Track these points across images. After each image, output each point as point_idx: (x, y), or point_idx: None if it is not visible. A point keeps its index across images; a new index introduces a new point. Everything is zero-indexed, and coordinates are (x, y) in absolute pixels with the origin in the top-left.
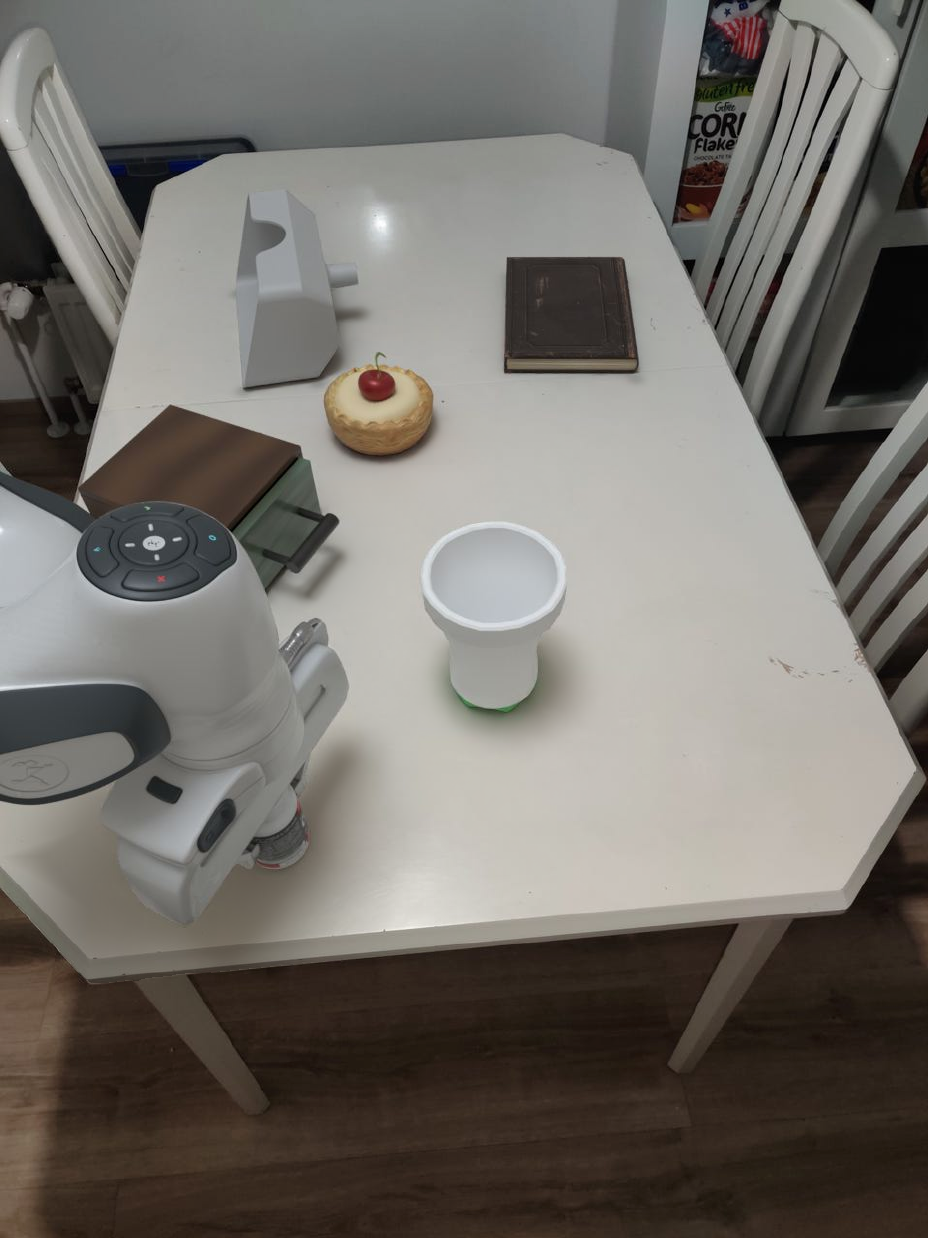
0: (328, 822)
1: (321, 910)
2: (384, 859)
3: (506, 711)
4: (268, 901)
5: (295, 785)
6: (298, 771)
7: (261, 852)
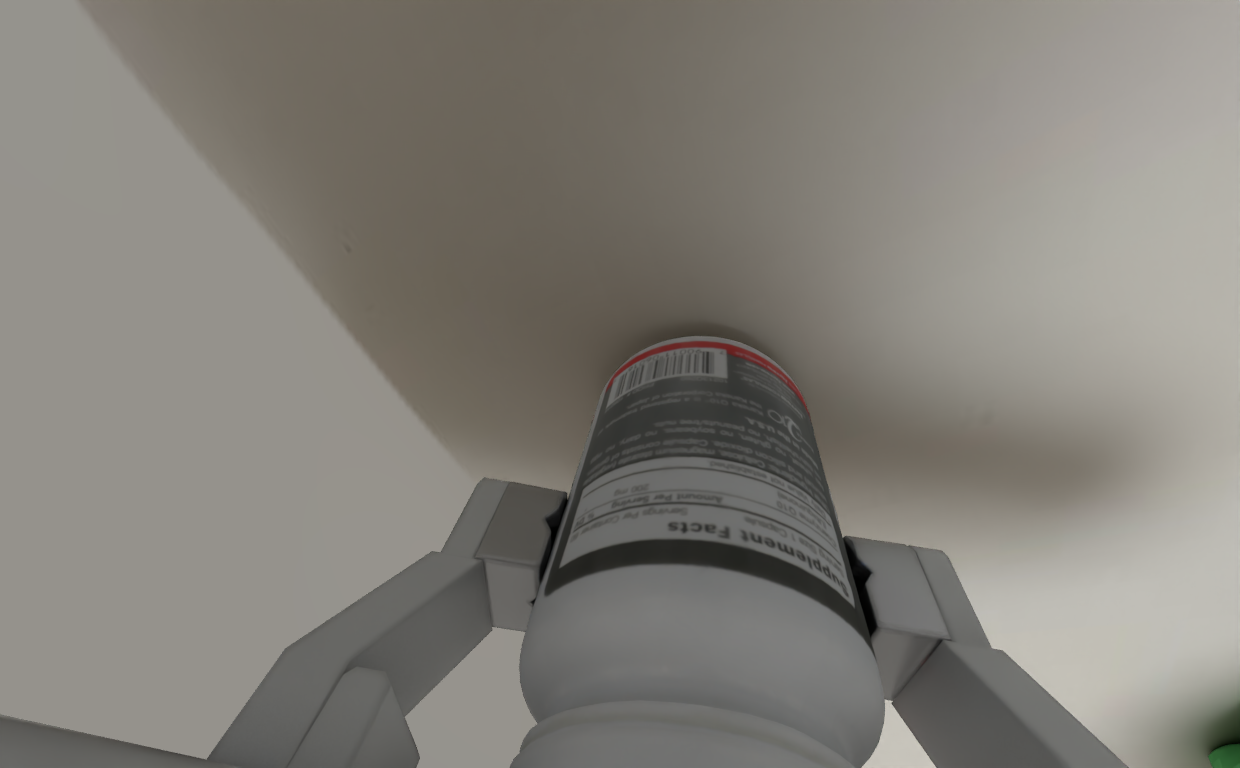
0: None
1: None
2: None
3: (1210, 762)
4: (534, 431)
5: None
6: (937, 744)
7: None
